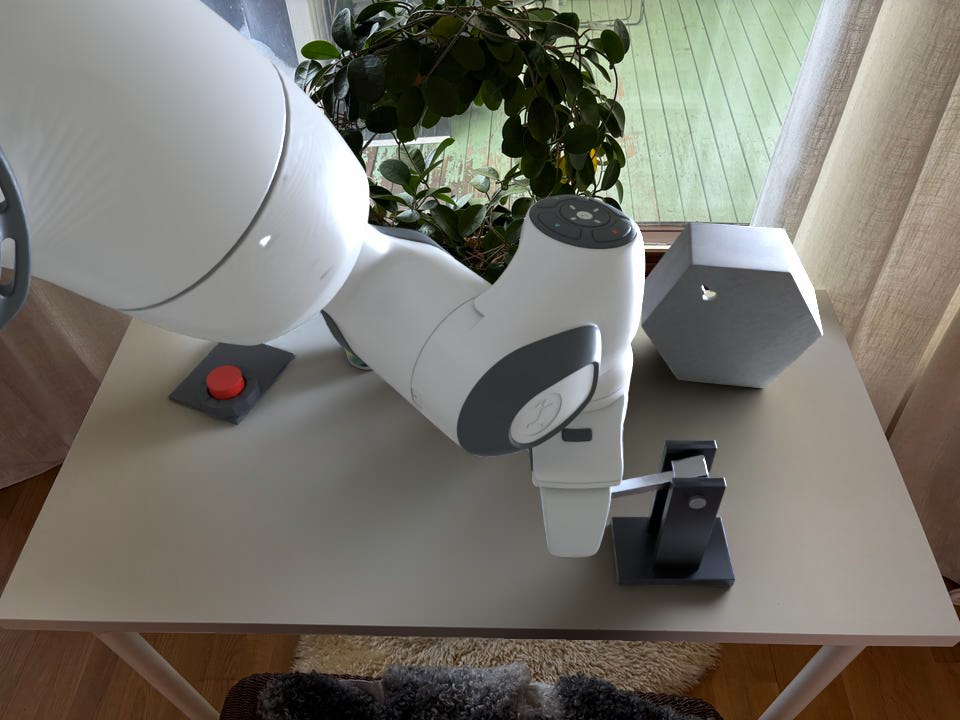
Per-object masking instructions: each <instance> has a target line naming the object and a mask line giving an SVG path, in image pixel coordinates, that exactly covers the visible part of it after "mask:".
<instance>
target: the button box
mask: <svg viewBox="0 0 960 720" xmlns="http://www.w3.org/2000/svg"><path fill="white" fill-rule="evenodd" d="M295 358H296V357H295V353H294V352H291V351H288V350H285V349H282V348H278V347H277V346H276V347H275V346H272V345H269V344H266V343H262V344H258V345H252V346H245V345H235V344H227V343H220V342H217V344H216V345H215V346H214V347H213V348H212V349H211V350H210V351H209V352H208V353H207V355H205V357H204V358H202V360H201V361H200V362H199V363H198V364H197V365H196V366H195V367H194V368H193V369H192V370H191V371H190V372H189V373H188V375H186V377H185V378H184V379H183V380H182V381H181V382H180V383H179V384H178V385H177V386H176V387H175V388H174V389H173V390H172V391H171V393H169V394H168V396H167V398H168V400H169V401H171V402H174V403H177V404H180V405H182V406H185V407H188V408H191V409H194V410H195V411H198V412H201V413H204V414H206V415H208V416H211V417H214V418H217V419H221V420H224V421H226V422H229V423H232V424H234V425H239V424H240V422H241V421H242V420H243V419H244V418H245V417H246V415H247V414H248V413H249V412H250V411H251V410H252V408H253V407H254V406H255V405H256V404H257V403H258V401H259V400H260V399H261V398H262V397H263V395H265V394H266V392H267V391H268V389H269V388H270V387H271V386H272V385H273V384H274V382H275V381H276V380H277V379H278V378H279V376H280V375H281V374H282V373H283V372H284V370H286V369H287V367H288V366H289V365H290V364H291V362H292V361H293V360H294V359H295ZM228 365H229V366H234V367H237V368H238V369H239V370H240V371H241V374H242V377H243V379H244V382H245V387H244V390H243V391H242V392H241V393H240V394H239V395H238V396H236V397H234V398H232V399H229V400H218V399H215V398H214V397H213V396H212V395H211V393H210V391H209V388H208V386H207V383H206V380H207V377H208V375H209V374H210V373H211V372H212V371H213V370H214V369H216V368H218V367H221V366H228Z"/></svg>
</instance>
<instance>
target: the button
mask: <svg viewBox="0 0 960 720" xmlns="http://www.w3.org/2000/svg"><path fill="white" fill-rule="evenodd" d="M206 383H207V386H208V388H209V391H210V393H211V395H212V396H213V397H214V398H215V399H218V400H229V399H232V398H234V397H236V396H238V395H239V394H240V393H241V392H242V391H243V390H244V387H245V382H244V379H243V377H242V374H241V371H240V370H239V369H238V368H237V367H234V366H229V365H228V366H221V367H218V368H216V369H214V370H213V371H212V372H211V373H210V374H209V375H208V377H207V380H206Z"/></svg>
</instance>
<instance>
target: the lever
mask: <svg viewBox="0 0 960 720" xmlns="http://www.w3.org/2000/svg"><path fill="white" fill-rule="evenodd" d="M672 468H673V471H668V472H663V473H658V472H657V473H653V474H648V475H642V476H638V477H632V478H627V479H622V481H621V484H620V485H619V486H613V487H612V491H611V500H614V499H619V498H624V497H629V496H634V495H639V494H645V493H649V492H650V493H651V492H654V491H656V490H661V489H666V488H670V484H671V480H672V478H710V474H708V469H707V466H706V462H705V459H704V455H698V456H693V457H688V458H683V459H678V460H673V461H672Z"/></svg>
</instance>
